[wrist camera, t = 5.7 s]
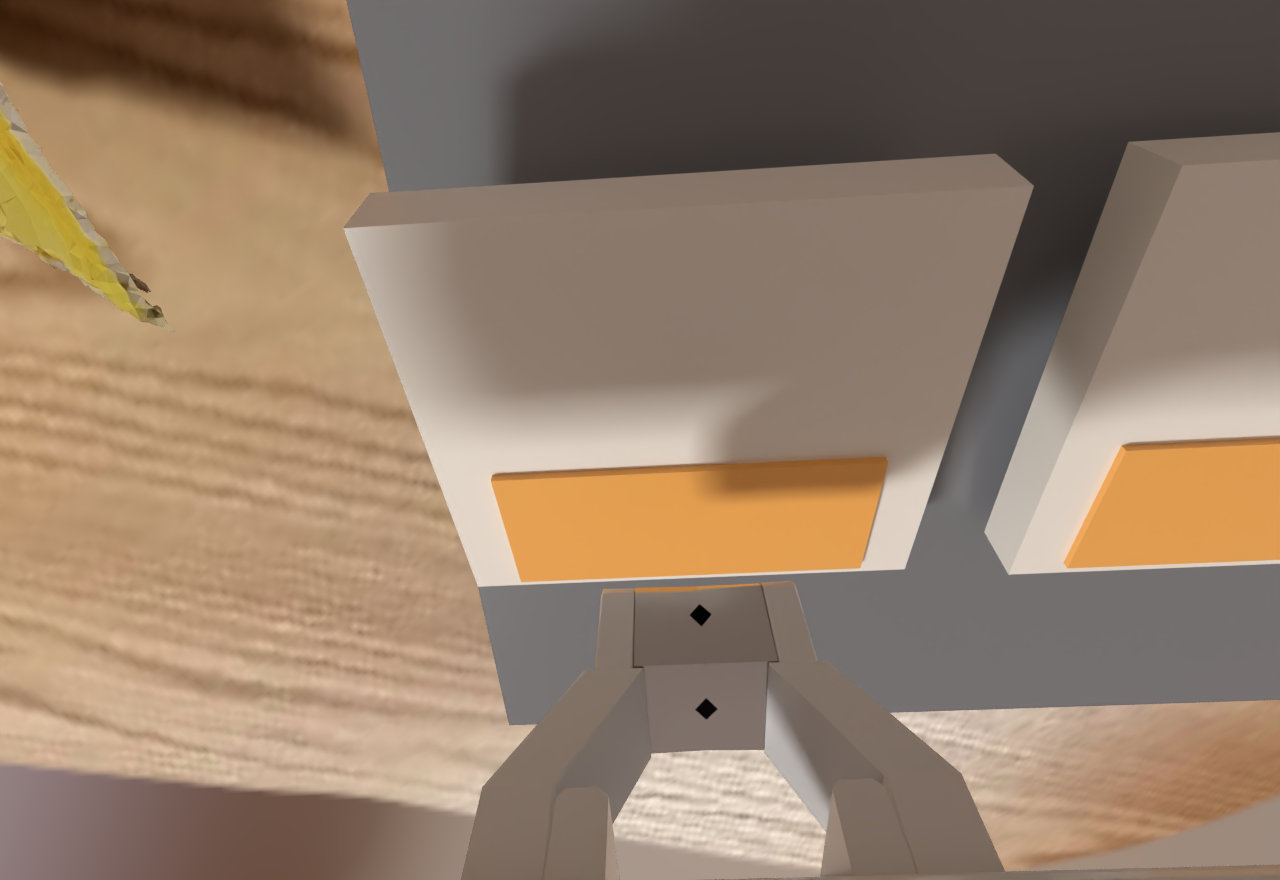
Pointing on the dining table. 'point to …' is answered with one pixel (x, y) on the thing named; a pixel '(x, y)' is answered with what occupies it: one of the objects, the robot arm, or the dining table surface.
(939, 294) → the left rocker
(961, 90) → the switch panel
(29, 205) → the origami crane
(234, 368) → the dining table surface
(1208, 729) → the dining table surface
